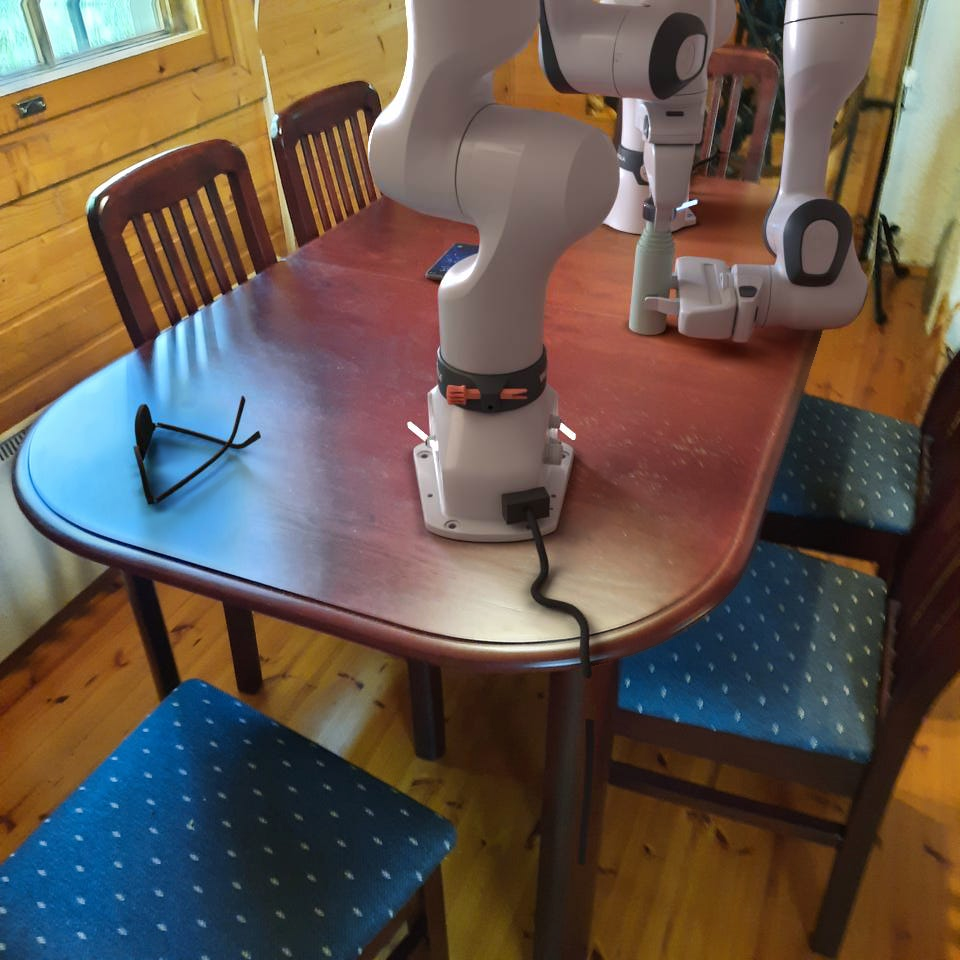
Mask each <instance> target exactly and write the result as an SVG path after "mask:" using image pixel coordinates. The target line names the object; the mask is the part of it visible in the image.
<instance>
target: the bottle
mask: <svg viewBox="0 0 960 960" xmlns="http://www.w3.org/2000/svg"><path fill="white" fill-rule="evenodd" d="M672 233H673V232H671V229H670V222H669V228H668V230H667V231H656V230H655V227H654V222H650V221H647V222H646V227H645V228H644V231H643V232H642V234H641V235H640V236H639V239H638V240H637V244H636V247H635V256H634V267H633V277H632V289H631V299H630V300H631V301H630V307H629V308H630V309H629V321H628V328H629V329H630V330H631V331H632V332H634V333H635V334H638V335H645V336H654V335H659V334H661V333H663V332H664V331H666V329H667V321H668V320H667V319H668V315H667V314H665V313H662V312H659V311H657V310H646V309H645V296H646V295H647V294H651V295H652V294H658V297H662V298H668V299H670V296H671V295H670V294H671V289H670V287H671V279H672V272H673V269H674V261H675V252H676V247H675V245H676V243H675V242H674V237H673V234H672Z"/></svg>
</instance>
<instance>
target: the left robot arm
mask: <svg viewBox="0 0 960 960" xmlns="http://www.w3.org/2000/svg"><path fill="white" fill-rule="evenodd" d="M599 2H600V1H596V0H404V3H405V12H406V22H407V23H406V24H407V56H406V63H405V70H404V74H403V78H402V81H401V83H400V87H399V89H398V91H397V93H396V95H395V96H394V98H393V99H392V100H391V102H389V103H388V104H387V105H386V106H385V107H384V108H383V109H382V111H381V112H380V113H379V115H378V116H377V118H376V119H375V122H374V123H373V125H372V129H371V131H370V134H369V139H368V144H367V159H368V160H367V161H368V168H369V171H370V174H371V177H372V180H373V182H374V185H375V186H376V188H377V189H378V190H379V192H380V193H381V194H382V195H384V197H386V198H389V199H390V200H392V201H394V202H396V203H398V204H399V205H402V206H404V207H406V208H408V209H410V210H413V211H415V212H416V213H419V214H420V215H425V216H430V217H435V218H439V219H443V220H448V221H453V222H458V223H463V224H467V225H472V226H474V227H476V228H477V231H478V234H479V244H478V245H479V252H478V253H477V254H474V255H471V256H469V257H467V258H465V259H463V260H461V261H459V262H457V263H456V264H455V265H453V266H452V267H451V268H450V269H449V270H448V271H447V273H446V274H445V276H444V278H443V279H442V281H440V284H439V286H438V290H437V305H438V306H437V307H438V324H439V326H438V327H439V340H440V341H439V342H440V345H439V346H438V348H437V354H436V356H437V358H436V363H435V364H436V376H437V384H436V385H435V387H434V386H433V388H432V389H431V390H430V391H428V392H427V406H428V407H427V409H428V424H429V435H427V434H425V433H424V432H423V431H422V430H421V429H420V428H419V427H418V426H416V425H415V424H413V423H412V422H411V421H409V422H407V427H408V429H410V430H411V431H412V432H413V433H414V434H416V435H417V436H418V437H419V438H420V439H422V440H423V441H424V442H422V443H419V444H417V445H416V446H415V447H414V448H413V454H412V455H413V457H412V458H413V464H414V470H415V475H416V476H415V477H416V480H417V487H418V492H419V498H420V499H419V500H420V503H421V504H420V505H421V510H422V516H423V522H424V526H425V529H426V530H427V531H428V532H429V533H432V534H434V535H437V536H440V537H443V538H448V539H452V540H457V541H466V542H477V543H478V542H480V543H500V542H501V543H502V542H503V543H506V542H518V541H527V540H531V539H533V541H534V544H535V548H536V552H537V555H538V559H539V566H540V570H539V575H538V577H536V579H535V580H534V581H533V583H532V585H530V595H531V597H532V599H533V600H534V601H535V602H536V603H537V604H539V605H541V606H543V607H546V608H551V609H556V610H560V611H564V612H566V613H568V614H570V615H571V616H572V617H573V618H574V619H575V621H576V623H578V626H579V635H580V636H579V658H580V659H579V660H580V669H581V674H582V676H583V678H585V679H591V677H592V674H593V673H592V665H591V657H590V656H591V655H590V642H591V641H590V638H591V637H590V635H591V634H590V626H589V623H588V621H587V618H586V617H585V616H586V615H584V613H583V612H582V611H581V610H580V609H579V608H578V607H577V606H575V605H574V604H572V603H570V602H567V601H563V600H558V599H553V598H550V597H546V596H545V595H542V594H541V591H540V590H541V588H542V586H543V585H544V584H545V582H546V580H547V579H548V578H549V577H548V576H549V573H550V572H549V571H550V564H549V557H548V553H547V550H546V546H545V543H544V539H543V536H546V535H548V534H550V533H552V532H554V531H556V530H557V527H558V525H559V520H560V518H561V517H560V516H561V512H562V508H563V504H564V500H565V497H566V492H567V488H568V483H569V480H570V476H571V472H572V469H573V468H572V467H573V464H574V459H575V450H574V447H573V446H571V445H570V444H568V443H566V442H563V441H561V439H560V438H558V430H560V431H561V432H562V433H564V434H565V435H566V436H567V437H569V438H570V439H571V440H572V441H573V440H576V433H574V432H573V431H572V430H571V429H569V428H568V427H567V426H566V425H565V424H563V423H562V416H559V392H557V391H556V390H555V389H554V388H553V387H552V386H551V385H550V384H549V383H548V382H547V379H548V367H549V361H548V356H547V355H548V354H547V353H548V351H547V347H546V345H545V344H544V332H545V331H544V330H545V329H544V328H545V314H546V303H547V295H548V288H549V284H550V281H551V279H552V275H553V273H554V271H555V269H556V267H557V265H558V263H559V262H560V261H561V259H562V257H563V256H564V255H565V254H566V253H567V251H569V250H570V249H571V248H572V247H573V246H574V245H576V244H577V243H579V242H581V241H582V240H584V239H586V238H588V237H589V236H590V235H591V234H593V233H594V232H596V231H597V229H598V228H600V227H601V226H602V224H604V223H603V222H604V220H605V219H606V218H607V216H608V215H609V213H610V211H611V210H612V208H613V206H614V203H615V201H616V198H617V194H618V190H619V184H620V166H619V160H618V156H617V152H618V151H617V149H616V148H615V147H616V146H615V145H614V143H613V141H612V139H611V137H610V135H609V134H608V133H607V132H606V131H605V130H603V129H601V128H599V127H597V126H594V125H592V124H589V123H587V122H584V121H583V120H580V119H577V118H574V117H571V116H569V115H567V114H564V113H560V112H556V111H548V110H541V109H535V108H527V107H521V106H520V107H519V106H512V105H506V104H505V105H504V104H500V103H498V102H497V101H496V98H495V93H494V80H495V79H494V78H495V72H496V70H497V69H499V68H501V67H503V66H504V65H505V64H507V63H509V62H510V61H512V60H513V59H515V58H516V57H518V56H519V55H520V54H521V53H523V51H524V50H525V49H526V48H527V47H528V46H529V45H530V43H531V41H532V40H533V38H534V35H535V33H536V31H537V29H538V61H539V66H540V69H541V71H542V73H543V75H544V77H545V78H546V80H547V81H548V83H549V84H550V85H551V87H552V88H553V89H554V90H555V92H558V93H559V94H562V95H596V96H597V95H598V96H605V97H612V98H620V99H622V98H633V99H635V108H634V121H633V125H634V127H636V128H637V129H639V130H640V131H641V132H642V139H643V140H644V141H645V145H644V165H645V169H646V173H647V177H648V181H649V185H650V197H653V201H654V205H655V207H656V214H655V221H654V227H655V230H656V231H667V230H668V228H669V220H670V216H671V213H672V210H673V208H680V207H682V205H683V203H684V201H685V198H686V195H687V190H688V185H689V180H690V181H691V175H692V173H691V170H692V165H693V164H694V160H695V152H696V145H697V144H700V143H701V142H702V138H703V130H704V129H703V127H704V123H705V121H704V119H705V112H706V105H707V99H708V90H709V80H708V79H709V78H708V64H709V60H710V57H711V55H712V53H713V51H714V50H713V42H714V34H715V23H716V0H645V1H644V2H643V3H641V4H642V5H644V6H629V5H616V4H603V3H599ZM712 50H713V51H712ZM584 723H585V724H584V737H585V738H584V739H585V743H584V746H585V747H584V778H583V791H582V793H583V794H582V805H581V816H580V823H579V824H580V825H579V835H578V836H579V837H578V846H577V848H578V849H577V865H579V866H584V865H585V864H586V860H587V859H586V858H587V845H588V833H589V825H590V816H591V806H592V797H593V787H594V786H593V785H594V769H595V719H592V718H585V719H584Z"/></svg>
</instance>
